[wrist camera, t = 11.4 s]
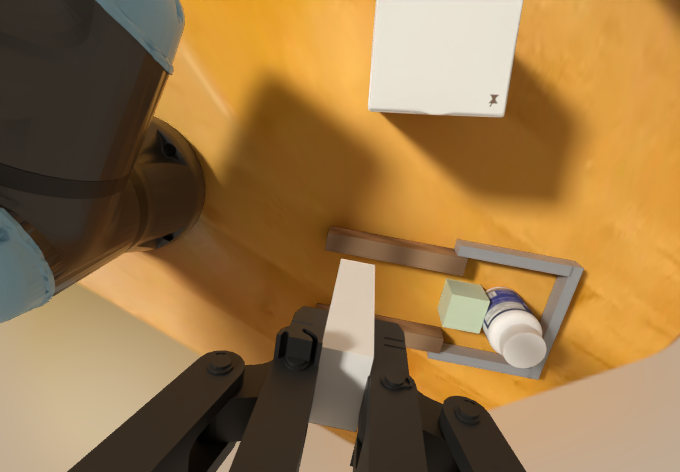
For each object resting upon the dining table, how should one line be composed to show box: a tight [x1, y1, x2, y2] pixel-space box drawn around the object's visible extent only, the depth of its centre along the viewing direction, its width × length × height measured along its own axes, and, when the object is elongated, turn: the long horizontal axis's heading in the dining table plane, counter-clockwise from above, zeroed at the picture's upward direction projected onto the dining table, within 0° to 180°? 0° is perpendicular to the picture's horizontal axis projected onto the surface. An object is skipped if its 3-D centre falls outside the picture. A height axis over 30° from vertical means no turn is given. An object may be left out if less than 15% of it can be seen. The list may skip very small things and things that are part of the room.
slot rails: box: [316, 226, 468, 354], centre depth 45 cm, size 15×12×2 cm
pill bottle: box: [482, 287, 547, 368], centre depth 42 cm, size 5×5×9 cm
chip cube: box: [437, 278, 490, 334], centre depth 44 cm, size 4×4×4 cm
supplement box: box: [368, 0, 523, 117], centre depth 31 cm, size 9×9×15 cm
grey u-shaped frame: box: [427, 239, 584, 380], centre depth 45 cm, size 13×14×2 cm
